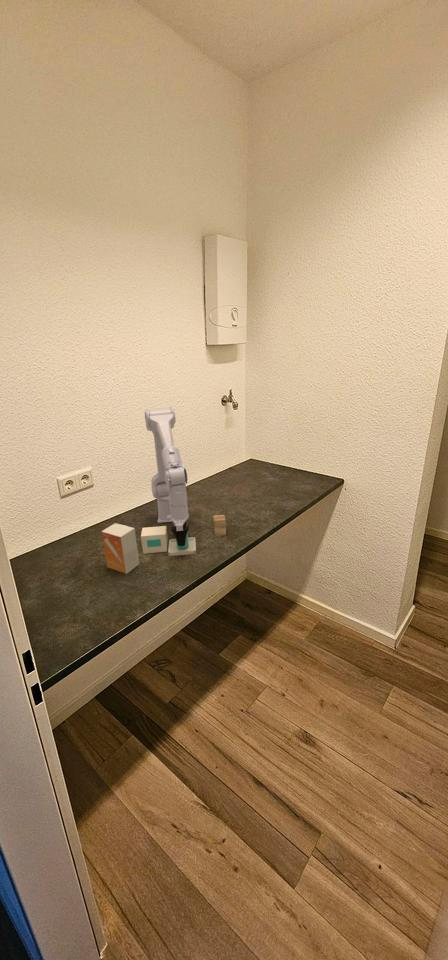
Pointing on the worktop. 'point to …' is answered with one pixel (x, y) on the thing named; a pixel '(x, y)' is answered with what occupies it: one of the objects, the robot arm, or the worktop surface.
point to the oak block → (219, 525)
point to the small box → (120, 548)
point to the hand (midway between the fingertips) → (181, 540)
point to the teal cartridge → (185, 544)
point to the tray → (190, 550)
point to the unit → (154, 539)
